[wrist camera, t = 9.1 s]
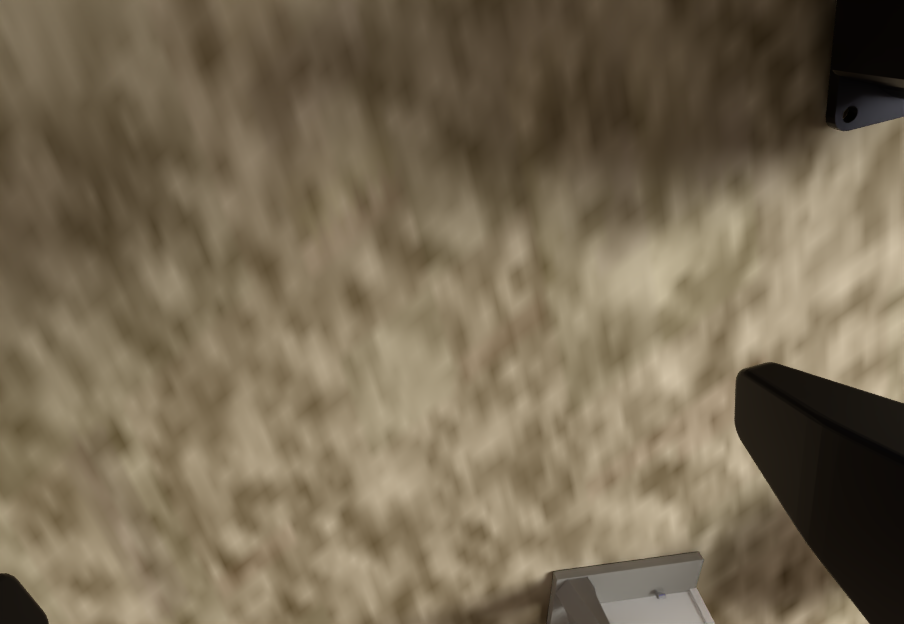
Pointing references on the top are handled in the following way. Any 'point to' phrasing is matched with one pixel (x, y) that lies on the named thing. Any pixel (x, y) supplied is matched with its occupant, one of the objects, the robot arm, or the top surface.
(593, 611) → the skyscraper
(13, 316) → the top surface
